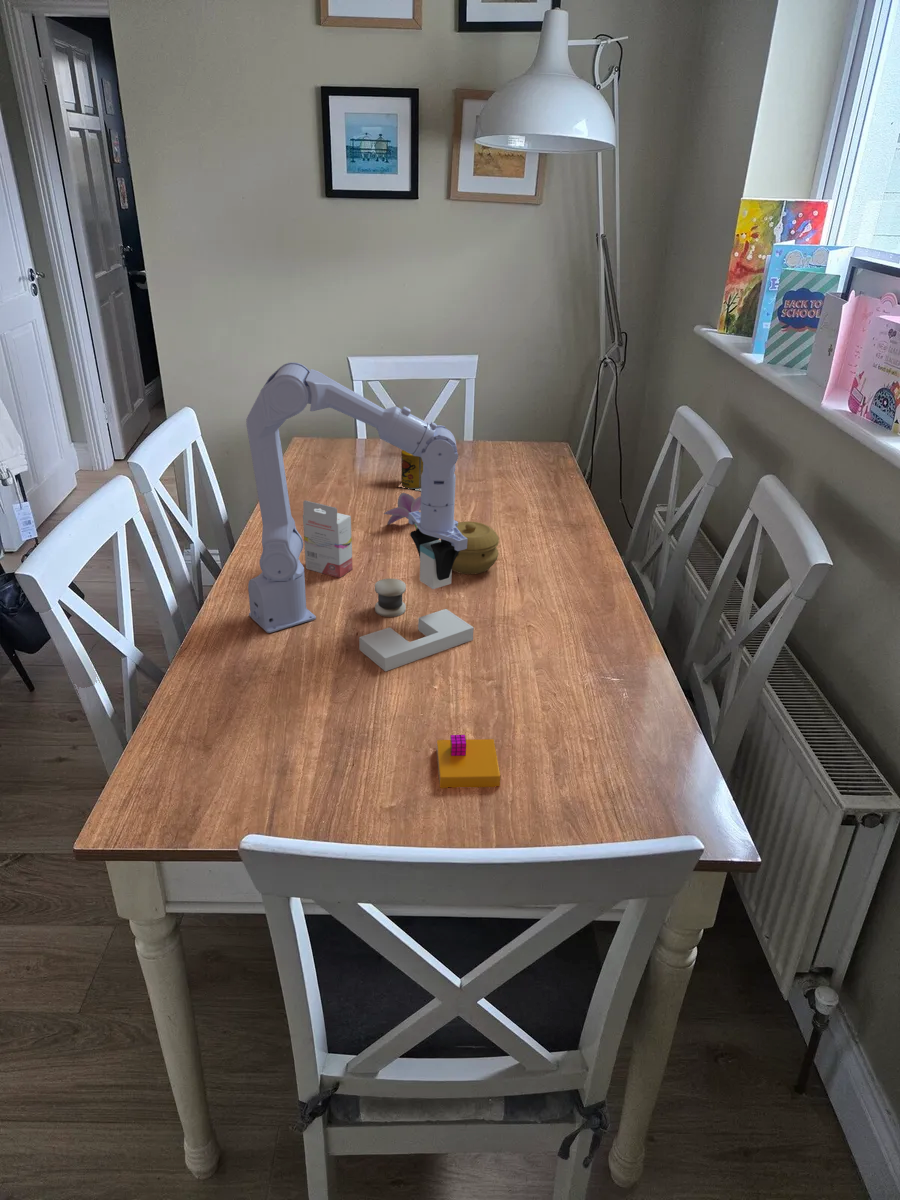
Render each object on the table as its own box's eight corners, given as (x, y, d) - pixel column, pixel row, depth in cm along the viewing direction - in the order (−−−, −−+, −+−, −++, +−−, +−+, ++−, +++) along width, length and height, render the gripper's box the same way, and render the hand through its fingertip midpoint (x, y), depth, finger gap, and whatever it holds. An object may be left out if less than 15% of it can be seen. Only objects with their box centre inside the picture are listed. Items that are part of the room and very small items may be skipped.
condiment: (395, 487, 206) (395, 441, 200) (408, 477, 213) (408, 433, 207) (421, 491, 204) (422, 445, 198) (433, 481, 211) (435, 436, 205)
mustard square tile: (492, 751, 114) (494, 726, 112) (499, 789, 107) (501, 764, 105) (436, 752, 113) (437, 727, 112) (439, 790, 106) (440, 765, 104)
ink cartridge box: (353, 569, 163) (352, 501, 156) (339, 578, 159) (337, 509, 152) (319, 560, 167) (316, 492, 160) (304, 568, 163) (300, 500, 156)
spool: (385, 619, 145) (385, 595, 143) (369, 607, 149) (368, 583, 147) (411, 611, 148) (411, 587, 146) (394, 599, 152) (394, 575, 150)
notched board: (385, 671, 130) (385, 658, 129) (359, 649, 136) (359, 637, 135) (472, 639, 140) (473, 627, 139) (445, 620, 146) (445, 608, 144)
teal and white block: (432, 589, 141) (433, 552, 137) (419, 580, 144) (419, 544, 140) (451, 583, 143) (453, 547, 140) (437, 575, 146) (439, 539, 142)
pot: (507, 565, 167) (510, 520, 163) (480, 586, 158) (482, 539, 154) (458, 551, 172) (460, 508, 168) (429, 571, 163) (430, 526, 159)
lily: (443, 527, 186) (431, 487, 186) (441, 527, 175) (428, 484, 174) (394, 542, 187) (382, 502, 187) (388, 543, 176) (375, 501, 175)
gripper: (483, 509, 133) (479, 583, 140) (431, 484, 143) (430, 553, 150) (448, 518, 129) (446, 593, 136) (398, 491, 139) (398, 562, 146)
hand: (435, 573), depth 142 cm, fingers closed on teal and white block, 4 cm apart
